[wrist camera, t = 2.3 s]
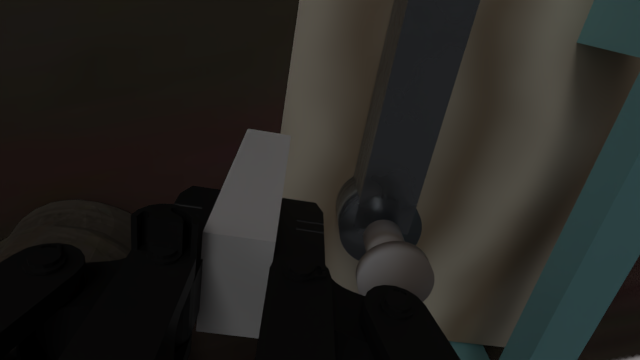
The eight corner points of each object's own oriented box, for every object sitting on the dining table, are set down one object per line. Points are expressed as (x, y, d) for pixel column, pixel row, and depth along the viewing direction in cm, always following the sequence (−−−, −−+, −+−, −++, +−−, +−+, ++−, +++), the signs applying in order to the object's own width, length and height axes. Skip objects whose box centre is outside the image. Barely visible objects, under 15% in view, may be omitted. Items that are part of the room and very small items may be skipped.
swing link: (399, 239, 26) (409, 269, 24) (329, 230, 26) (332, 259, 23) (476, -17, 20) (502, -17, 18) (386, -35, 20) (399, -37, 17)
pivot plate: (256, 304, 31) (237, 426, 23) (313, -95, 20) (318, -145, 12) (514, 334, 33) (585, 456, 25) (686, -17, 22) (913, -13, 14)
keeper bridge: (436, 352, 34) (474, 463, 26) (580, -10, 22) (722, -4, 15) (466, 355, 34) (513, 466, 26) (623, -2, 23) (785, 9, 15)
